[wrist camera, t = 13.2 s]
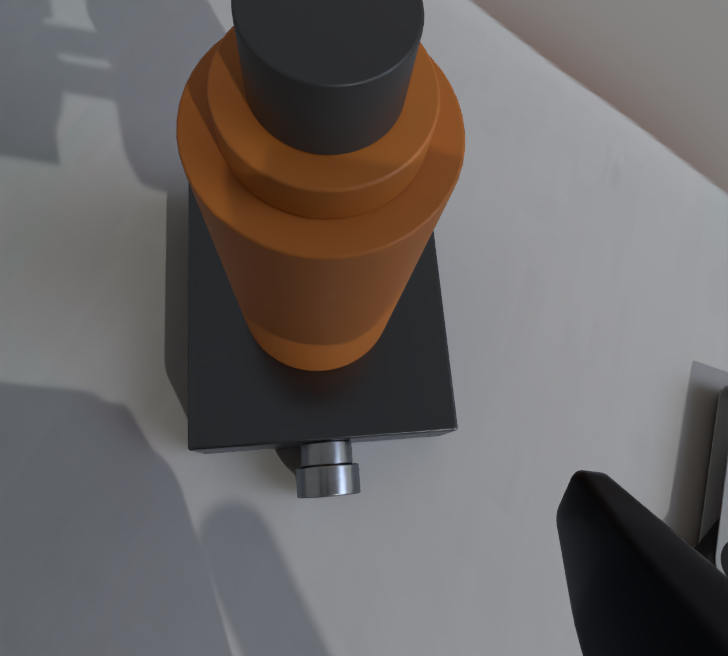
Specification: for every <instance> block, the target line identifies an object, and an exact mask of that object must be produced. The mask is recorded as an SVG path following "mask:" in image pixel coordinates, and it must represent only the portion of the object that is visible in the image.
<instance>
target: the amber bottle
mask: <svg viewBox="0 0 728 656" xmlns="http://www.w3.org/2000/svg"><path fill="white" fill-rule="evenodd" d="M231 9H232V17H233V23H234V26H233V27H232V28H231V29H230V30H229V31H228V32H227V33H226V35H225V36H224V38H222V39H221V40H220V41H219V42H217V43H216V44H215V45H214V46H213V47H212V48H211V49H210V50H209V51H208V52H207V53H206V54H205V55H204V56H203V57H202V59H201V60H200V61H199V63H198V64H197V66H196V67H195V69H194V70H193V71H192V73H191V75H190V77H189V79H188V81H187V83H186V85H185V88H184V91H183V94H182V97H181V100H180V103H179V108H178V115H177V144H178V150H179V156H180V159H181V162H182V165H183V168H184V171H185V174H186V176H187V179H188V181H189V184H190V186H191V189H192V191H193V193H194V196H195V198H196V201H197V203H198V206H199V208H200V211H201V213H202V216H203V218H204V220H205V223H206V225H207V228H208V230H209V233H210V235H211V238H212V240H213V243H214V245H215V247H216V250H217V252H218V255H219V257H220V260H221V262H222V265H223V267H224V269H225V272H226V274H227V277H228V279H229V282H230V284H231V287H232V289H233V292H234V294H235V296H236V299H237V301H238V304H239V306H240V309H241V311H242V314H243V316H244V319H245V321H246V323H247V326H248V328H249V330H250V332H251V334H252V336H253V337H254V339H255V340H256V342H257V343H258V344H259V345H260V346H261V347H262V348H263V349H264V350H265V351H266V352H267V353H268V354H269V355H270V356H272V357H273V358H275V359H277V360H278V361H280V362H282V363H284V364H286V365H288V366H291V367H294V368H297V369H303V370H309V371H324V370H331V369H336V368H339V367H342V366H345V365H348V364H350V363H352V362H354V361H356V360H357V359H359V358H360V357H362V356H363V355H364V354H365V353H367V352H368V351H369V350H370V349H371V348H372V347H373V345H374V344H375V343H376V342H377V340H378V339H379V337H380V336H381V334H382V332H383V330H384V328H385V326H386V324H387V322H388V320H389V318H390V316H391V314H392V312H393V310H394V308H395V306H396V304H397V302H398V300H399V298H400V296H401V294H402V292H403V290H404V288H405V286H406V284H407V282H408V280H409V278H410V276H411V274H412V272H413V270H414V268H415V266H416V264H417V262H418V260H419V258H420V256H421V254H422V252H423V250H424V248H425V246H426V244H427V242H428V240H429V238H430V236H431V234H432V232H433V230H434V228H435V226H436V224H437V222H438V220H439V218H440V216H441V214H442V212H443V210H444V208H445V206H446V204H447V202H448V200H449V198H450V196H451V194H452V191H453V189H454V187H455V185H456V183H457V181H458V178H459V175H460V172H461V168H462V165H463V159H464V152H465V130H464V123H463V117H462V113H461V109H460V106H459V103H458V100H457V97H456V95H455V93H454V91H453V89H452V86H451V84H450V83H449V81H448V80H447V78H446V76H445V75H444V73H443V72H442V70H441V69H440V68H439V67H438V65H437V64H436V63H435V62H434V60H433V59H432V58H431V57H430V56H429V55H428V53H427V52H426V50H425V48H424V47H423V45H422V44H421V43H420V40H421V36H422V31H423V26H424V8H423V1H422V0H231Z"/></svg>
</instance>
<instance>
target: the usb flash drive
mask: <svg viewBox="0 0 728 656" xmlns="http://www.w3.org/2000/svg"><path fill="white" fill-rule="evenodd" d="M695 550H696V551H698V552H699V553H700V554H701V555H702V556H704V557H705V558H706V559H707V560H708V561H709V562H711V563H712V564H713V565H714V566H715V567H717V568H718V569H719V570H720V571H721V572H722V573H724V574H725V575H726V576H727V577H728V386H726V387H724V388H723V389H722V390H721V392H720V394H719V398H718V406H717V413H716V420H715V428H714V435H713V442H712V449H711V457H710V464H709V471H708V478H707V486H706V493H705V500H704V507H703V515H702V522H701V529H700V537H699V544H698V545H697V546H696V547H695Z"/></svg>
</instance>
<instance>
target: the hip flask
mask: <svg viewBox="0 0 728 656" xmlns="http://www.w3.org/2000/svg"><path fill="white" fill-rule="evenodd" d="M457 428H458V426H457V418H456V410H455V402H454V394H453V386H452V377H451V369H450V361H449V353H448V345H447V337H446V329H445V321H444V312H443V304H442V296H441V288H440V280H439V272H438V264H437V256H436V247H435V239H434V231H433V232H432V234H431V236H430V238H429V240H428V242H427V244H426V246H425V248H424V250H423V252H422V254H421V256H420V258H419V260H418V262H417V264H416V266H415V268H414V270H413V272H412V274H411V276H410V278H409V280H408V282H407V284H406V286H405V288H404V290H403V292H402V294H401V296H400V298H399V300H398V302H397V304H396V306H395V308H394V310H393V312H392V314H391V316H390V318H389V320H388V322H387V324H386V326H385V328H384V330H383V332H382V334H381V336H380V337H379V339H378V340H377V342H376V343H375V344H374V345H373V347H372V348H371V349H370V350H369V351H368V352H367V353H365V354H364V355H363V356H362V357H360V358H359V359H357V360H356V361H354V362H352V363H350V364H348V365H345V366H342V367H339V368H336V369H331V370H324V371H309V370H303V369H297V368H294V367H291V366H288V365H286V364H284V363H282V362H280V361H278V360H277V359H275V358H273V357H272V356H270V355H269V354H268V353H267V352H266V351H265V350H264V349H263V348H262V347H261V346H260V345H259V344H258V343H257V342H256V340H255V339H254V337H253V336H252V334H251V332H250V330H249V328H248V326H247V323H246V321H245V319H244V316H243V314H242V311H241V309H240V306H239V304H238V301H237V299H236V296H235V294H234V292H233V289H232V287H231V284H230V282H229V279H228V277H227V274H226V272H225V269H224V267H223V265H222V262H221V260H220V257H219V255H218V252H217V250H216V247H215V245H214V243H213V240H212V238H211V235H210V233H209V230H208V228H207V225H206V223H205V220H204V218H203V216H202V213H201V211H200V208H199V206H198V203H197V201H196V198H195V196H194V193H193V191H192V189H191V186H190V184H189V256H188V449H189V450H191V451H195V452H199V453H203V454H209V453H222V452H235V451H248V450H261V449H274V448H287V447H300V449H301V466H302V468H297V469H296V486H297V498H317V497H329V496H340V495H349V494H357V493H360V477H359V465H358V464H357V463H352V462H353V460H352V447H351V443H353V442H366V441H379V440H392V439H405V438H418V437H431V436H440V435H443V434H446V433H449V432H453V431H455V430H457Z"/></svg>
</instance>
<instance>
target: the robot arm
mask: <svg viewBox="0 0 728 656" xmlns="http://www.w3.org/2000/svg"><path fill="white" fill-rule="evenodd" d="M556 519H557V529H558V534H559V540H560V546H561V552H562V557H563V563H564V569H565V574H566V580H567V586H568V592H569V597H570V603H571V609H572V614H573V618H574V623H575V628H576V631H577V635H578V639H579V643H580V647H581V650H582V654H583V656H728V577H727V576H726V575H725V574H724V573H722V572H721V571H720V570H719V569H718V568H717V567H715V566H714V565H713V564H712V563H711V562H709V561H708V560H707V559H706V558H705V557H704V556H702V555H701V554H700V553H699V552H698V551H696V550H695V549H694V548H693V547H692V546H691V545H689V544H688V543H687V542H686V541H685V540H683V539H682V538H681V537H680V536H679V535H678V534H676V533H675V532H674V531H673V530H672V529H670V528H669V527H668V526H667V525H666V524H665V523H663V522H662V521H661V520H660V519H659V518H657V517H656V516H655V515H654V514H653V513H652V512H650V511H649V510H648V509H647V508H646V507H644V506H643V505H642V504H641V503H640V502H639V501H637V500H636V499H635V498H634V497H633V496H632V495H630V494H629V493H628V492H627V491H626V490H624V489H623V488H622V487H621V486H620V485H619V484H617V483H616V482H615V481H614V480H613V479H611V478H610V477H609V476H608V475H606V474H604V473H600V472H592V471H584V470H580V471H577V472H575V473H574V474H573V476H572V478H571V480H570V482H569V484H568V487H567V489H566V491H565V493H564V496H563V498H562V500H561V502H560V505H559V507H558V510H557V518H556Z"/></svg>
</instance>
